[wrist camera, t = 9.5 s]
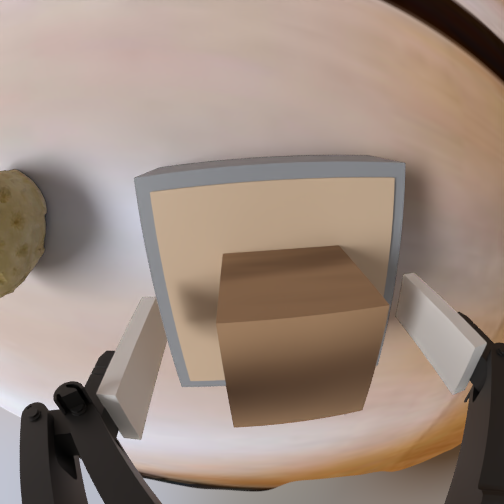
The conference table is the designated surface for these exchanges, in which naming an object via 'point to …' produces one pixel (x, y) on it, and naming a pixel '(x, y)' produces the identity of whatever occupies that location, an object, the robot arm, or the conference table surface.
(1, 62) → the conference table surface
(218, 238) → the plinth
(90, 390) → the robot arm
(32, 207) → the decorative item
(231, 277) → the walnut cube
